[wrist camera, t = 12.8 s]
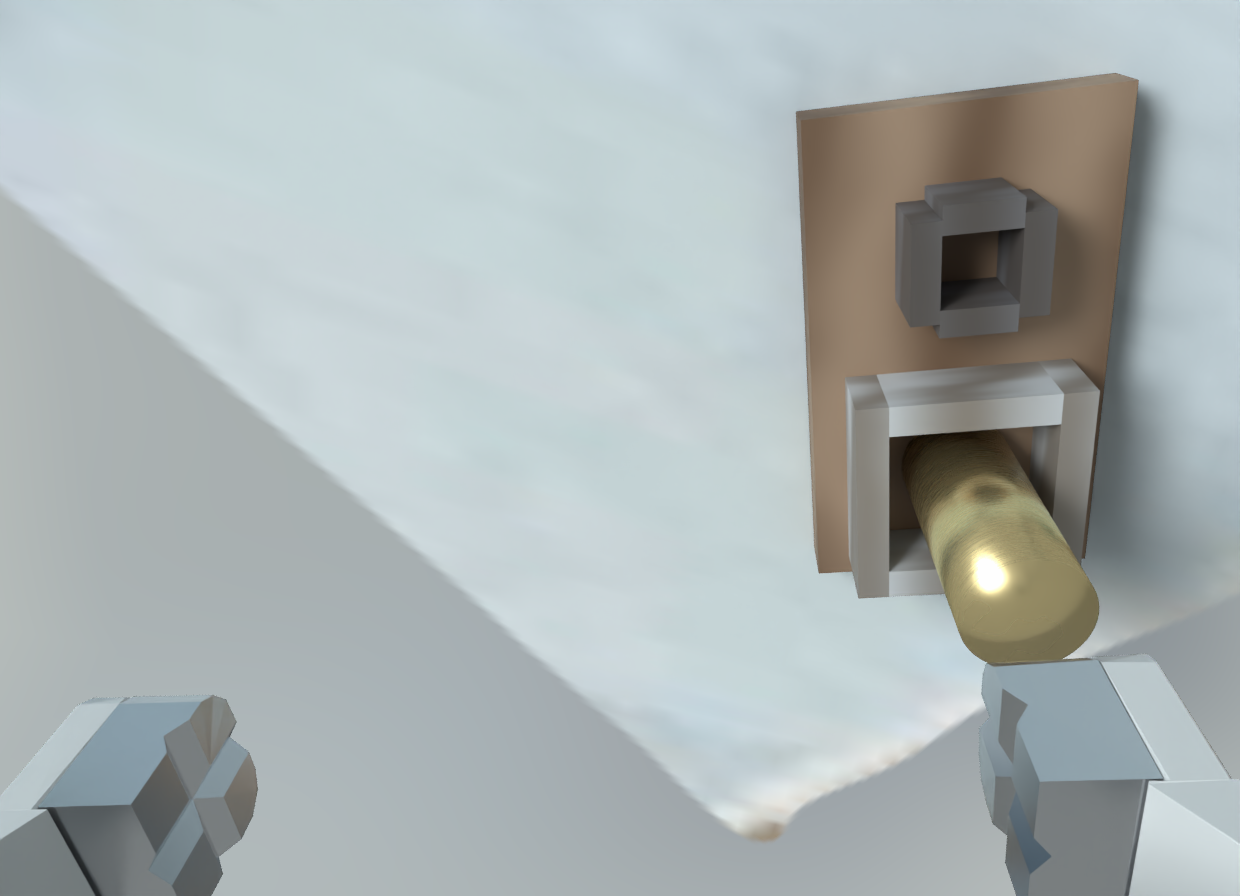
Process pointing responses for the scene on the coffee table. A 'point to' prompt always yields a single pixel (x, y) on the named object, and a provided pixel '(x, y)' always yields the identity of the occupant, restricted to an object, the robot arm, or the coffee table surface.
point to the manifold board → (957, 300)
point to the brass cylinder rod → (997, 549)
